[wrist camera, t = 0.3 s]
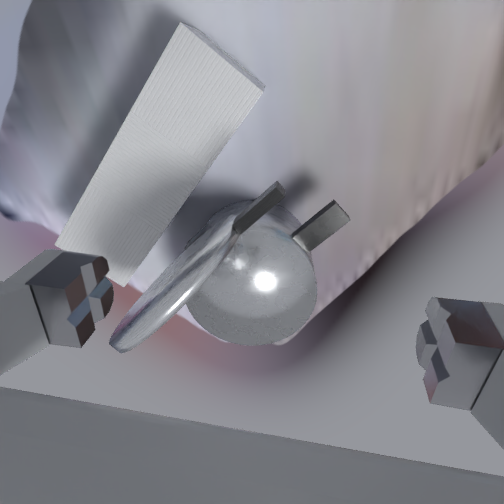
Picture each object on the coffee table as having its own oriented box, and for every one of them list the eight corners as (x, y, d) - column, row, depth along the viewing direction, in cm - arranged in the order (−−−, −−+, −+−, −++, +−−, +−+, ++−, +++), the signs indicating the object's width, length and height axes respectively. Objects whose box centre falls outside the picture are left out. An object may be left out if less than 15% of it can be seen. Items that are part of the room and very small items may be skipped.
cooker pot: (171, 244, 61) (149, 282, 50) (287, 136, 52) (290, 155, 42) (252, 316, 67) (247, 364, 56) (368, 229, 58) (390, 267, 47)
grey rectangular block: (199, 30, 47) (179, 22, 38) (265, 85, 50) (263, 91, 40) (89, 215, 60) (54, 244, 50) (147, 252, 62) (123, 287, 53)
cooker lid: (155, 288, 51) (149, 282, 50) (286, 172, 42) (279, 164, 42) (89, 385, 34) (79, 377, 34) (282, 227, 26) (270, 215, 26)
